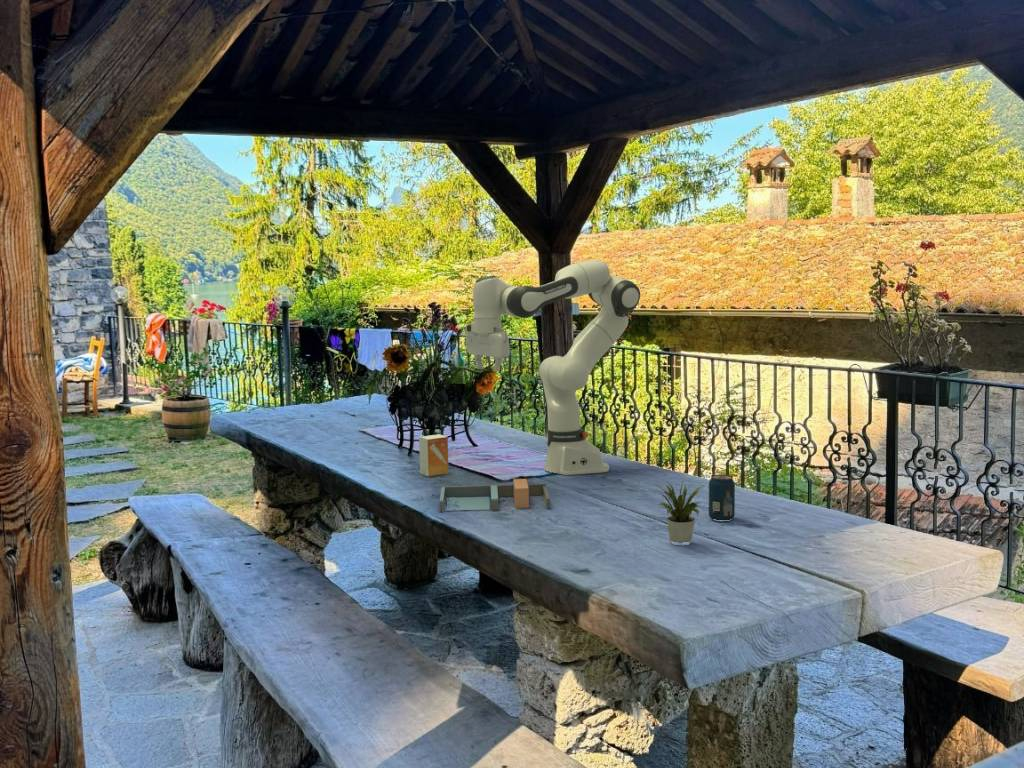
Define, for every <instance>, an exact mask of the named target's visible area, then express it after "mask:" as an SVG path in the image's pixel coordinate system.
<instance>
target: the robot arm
mask: <svg viewBox="0 0 1024 768" xmlns="http://www.w3.org/2000/svg"><path fill="white" fill-rule="evenodd" d="M472 291H473V294H472V301H473V302H472V303H473V308H474V314H473V321H472V322H469V323H468V324H466V325H465V327H464V328H465V332H466V335H465V344H466V345H465V346H466V347H465V348H466V352H467V354H469V355H473V358H474V360H475V363H476V369H477V370H483V369H485V368H484V367H485V366H484V363H483V361H482V359H483V356H484V357H489V358H494V365H492V371H494V372H500V371H501V364H502V362H503V359H504V358H509V357H510V354H511V350H510V340H509V336H508V333H507V331H506V330H505V329H504V328H503V327H502V315H503V316H504V315H505V316H512V317H518V318H521V319H528V318H532V317H533V316H534V315H536V314H537V313H538V312H539V311H541V309H543V308H544V307H545V306H547V305H551V304H553V303H556V302H558V301H560V300H561V301H562V300H563V299H565V300H567V299H574V298H578V297H583V296H587V295H588V297H589V298H590V299H591V301H592V302H594V303H595V304H598V305H600V306H601V307H600V308H601V309H600V311H599V313H598V314H597V315H596V316H595V317H594V318H593V319H592V320H591V321H589V322H588V324H587V325H586V326H585V327H584V328H583V329H582V330H581V331H580V332H579V333H578V334H577V335H576V337H574V339H573V343H572V345H571V347H570V349H569V350H568V351H567V353H566V354H565V355H564V356H561V355H553V356H549V357H547V358H545V359H544V360H542V362H541V363H540V365H539V367H538V375H539V377H540V379H541V381H542V386H543V391H544V397H545V400H546V401H545V402H546V408H547V429H546V434H545V435H546V444H547V448H546V449H547V450H546V451H547V452H546V457H545V458H546V459H545V464H544V467H543V471H545V470H546V471H545V472H548V471H549V473H552V472H553V474H560V475H564V476H572V475H573V476H574V475H575V476H576V475H585V474H586V475H588V474H598V473H600V474H601V473H607V472H609V471H610V465H609V464H608V463H607V462H605V461H604V459H603V454H602V453H601V450H600V449H599V448H598V447H596V445H594V444H593V443H591V442H590V441H588V440H587V438H588V437H589V433H588V432H587V431H586V430H584V429H582V428H581V427H580V426H581V417H580V415H581V414H580V411H581V409H580V405H579V402H578V399H577V396H576V392H577V391H580V390H582V389H583V388H585V386H586V385H587V383H588V380H589V375H590V373H592V370H593V369H594V367H595V366H596V364H597V363H598V361H599V360H601V358H602V357H603V356H604V355H605V353H606V352H608V351H609V350H610V348H612V346H614V344H615V343H616V342H617V341H618V340H619V339H620V337H621V336H622V335H623V333H624V332H625V330H626V329H627V327H628V326H629V325H628V324H629V318H628V316H630V315H631V314H632V313H634V312H633V311H634V310H635V309H636V307H637V306H638V304H639V302H640V299H641V290H640V288H639V287H638V285H637V284H635V283H634V282H633V281H631V280H628V279H625V278H623V277H621V276H615V275H611V271H610V268H609V265H608V264H607V263H606V262H605V261H603V260H602V259H590V260H589V259H588V260H583V261H579V262H575V263H572V264H569V265H566V266H564V267H562V268H561V269H558V271H557V272H556V273H555V277H554V280H553V281H551V282H548V283H546V284H542V285H540V286H531V285H519V286H517V285H513V284H510V283H507V282H505V280H504V281H503V280H502V279H500V278H499V277H498V276H497V275H489V276H483V277H480V278H478V279H477V280H475V281H474V285H473V290H472Z"/></svg>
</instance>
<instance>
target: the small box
mask: <svg viewBox="0 0 1024 768" xmlns="http://www.w3.org/2000/svg"><path fill="white" fill-rule="evenodd" d="M448 440H449V439H448V436H446V435H442V434H439V433H437V434H432V435H431V434H429V435H425V436H424V435H423V436H418V445H419V447H418V449H419V473H420V474H421V475H423V476H425V477H433V476H440V475H446V474H447V475H448V474H449V471H450V470H449V441H448Z"/></svg>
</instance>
